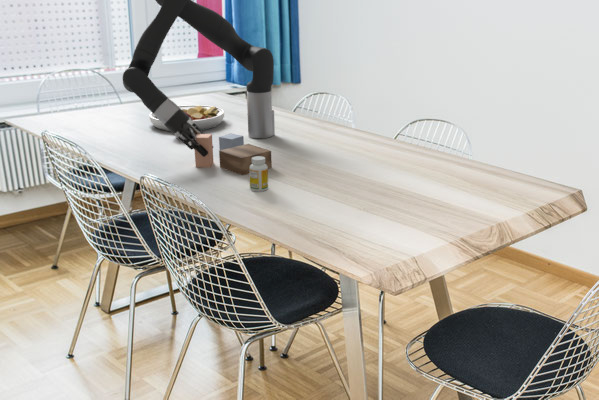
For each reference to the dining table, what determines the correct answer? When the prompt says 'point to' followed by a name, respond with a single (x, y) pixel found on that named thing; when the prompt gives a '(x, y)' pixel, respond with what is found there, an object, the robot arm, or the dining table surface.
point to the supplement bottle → (258, 174)
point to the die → (178, 132)
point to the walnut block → (242, 158)
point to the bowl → (196, 116)
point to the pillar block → (207, 144)
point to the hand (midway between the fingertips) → (208, 152)
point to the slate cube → (230, 141)
